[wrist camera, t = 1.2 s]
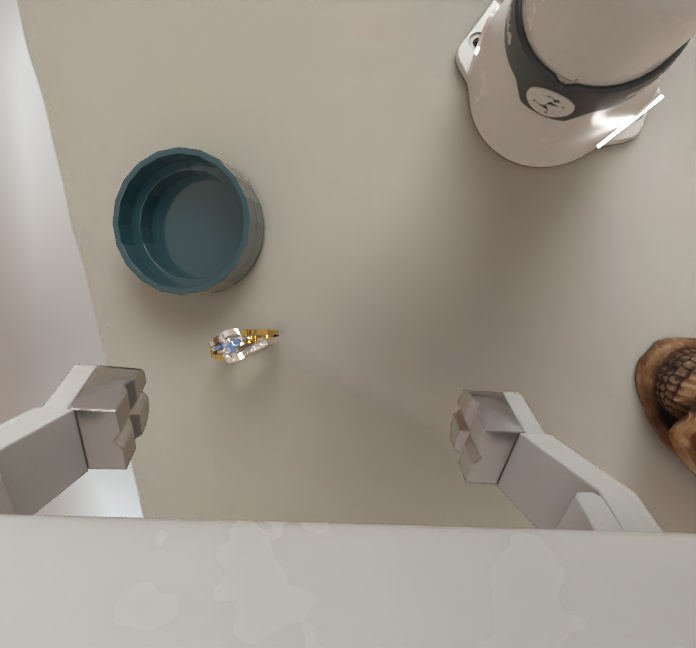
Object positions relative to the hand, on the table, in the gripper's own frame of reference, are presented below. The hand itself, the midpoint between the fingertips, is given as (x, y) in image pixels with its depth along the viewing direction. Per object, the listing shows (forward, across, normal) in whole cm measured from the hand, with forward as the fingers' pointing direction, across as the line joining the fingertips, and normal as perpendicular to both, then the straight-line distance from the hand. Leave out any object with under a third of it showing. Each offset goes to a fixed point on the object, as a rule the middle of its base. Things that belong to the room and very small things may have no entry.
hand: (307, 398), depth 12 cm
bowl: (+40, +11, +11) cm, 43 cm away
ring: (+33, +4, +20) cm, 39 cm away
